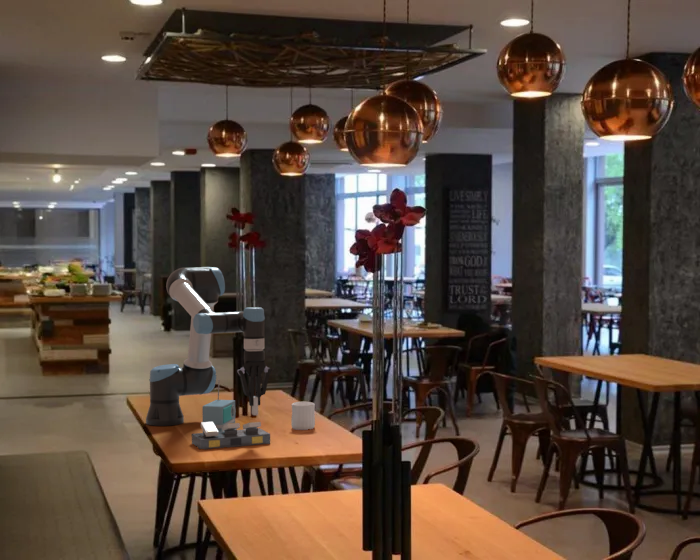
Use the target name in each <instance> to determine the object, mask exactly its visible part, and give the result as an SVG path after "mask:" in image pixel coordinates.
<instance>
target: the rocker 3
mask: <svg viewBox="0 0 700 560" xmlns="http://www.w3.org/2000/svg"><path fill="white" fill-rule="evenodd" d="M260 427H262V422H261V421H251V422H247V423H244V424H242V430H244V429H249V428H260Z"/></svg>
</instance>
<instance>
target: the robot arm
mask: <svg viewBox="0 0 700 560" xmlns="http://www.w3.org/2000/svg"><path fill="white" fill-rule="evenodd" d="M168 276H169V277H167V280H166V286H165V287H166V291H167V294H168V296H169V297H170V298H171V299H172V300H173V301H176V302H178V303H179V304H180V305H181V306H182V308H184V310H185V311H186V313H188V314H189V316H190V317H191V319H190V328H189V338H188V339H189V340H188V353H187V358H186V359H184V360H183V366H180V365H179V364H176V363H170V364H162V365H161V364H160V365H157V366H154V367H152V369H150V370H149V371H150V372H149V408H148V411H147V413H146V417H145V424H146V425H149V426H153V427H154V426H156V427H157V426H159V427H161V426H162V427H163V426H164V427H165V426H177V425H181V424H183V423H185V420H184V419H185V418H184V414H183V411H182V408H181V405H180V397H181V396H182V397H183V396H194V395H204V394H209V393H211V391H213V390H214V388H215V386H216V382H217V372H216V368H215V366H213V362H212V361H211V360H210V349H211V340H212V334H223V333H227V334H228V333H243V349H244V351H243V364H242V367H240V369H237V370H236V373H237V374H238V376H239V379H240V383H241V387H242V391H243V394H244V396H247V397H248V401H249V403H248V404H249V406H250V407H251V415H252V416H258V415H259V406H260V405H261V397H262V396H264V395H266V392H267V388H268V383H269V378H270V375H271V373H272V372H273V369H272V368H270V367H268V366H267V364H266V361H265V359H266V356H265V354H266V353H265V350H264V349H265V319H266V317H265V310H264V308H262V307H261V306H260V307H259V306H257V307H256V306H253V307H250V306H249V307H245V308H244V309H243V310H236V311H227V312H226V311H225V312H223V311H222V312H215V310H214V307H215V305H216V304H217V303H218V302H219V297H221V296H223V295H224V294H225V291H226V282H225V278H224V275H223V272H222V270H221V269H220V268H218V267H215V266H213V267H212V266H201V267H200V266H199V267H196V266H195V267H180V268H179V267H178V268H177V269H176V270H174V271H172V272H171V273H170V275H168ZM263 372H264V373H263ZM245 373H246V374H247V378H248V384H247V379H246V375H245ZM262 374H263V377H262ZM261 379H262V380H261ZM254 394H255V395H254Z"/></svg>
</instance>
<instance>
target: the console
mask: <svg viewBox="0 0 700 560" xmlns="http://www.w3.org/2000/svg"><path fill="white" fill-rule="evenodd" d="M191 444H192V445H193V444H194V445H195V447H196V446H197V447H198V449H199V450H200V449H204V450H211V449H212V450H214V449H213V448H215V449H225V448H224V447H227V448H234V447H235V448H236V447H247V446H258V445H268V444H271V433H270V432H268V431H266V430H264V429H261V428H260V427H257V428H249V429H236V430H225V431H224V432H222V431H220V432H219V433H218V436H208V437H206V435H205V433H204V432H203V431H202V432H199V433H198V432H197V433H191ZM194 445H193V446H194ZM197 447H196V448H197Z"/></svg>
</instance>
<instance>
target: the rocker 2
mask: <svg viewBox="0 0 700 560" xmlns="http://www.w3.org/2000/svg"><path fill="white" fill-rule="evenodd" d="M239 428H241V424H240V422H235V423H229V424H227V425H225V426H223V427H222V432H224V431H225V430H239Z"/></svg>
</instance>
